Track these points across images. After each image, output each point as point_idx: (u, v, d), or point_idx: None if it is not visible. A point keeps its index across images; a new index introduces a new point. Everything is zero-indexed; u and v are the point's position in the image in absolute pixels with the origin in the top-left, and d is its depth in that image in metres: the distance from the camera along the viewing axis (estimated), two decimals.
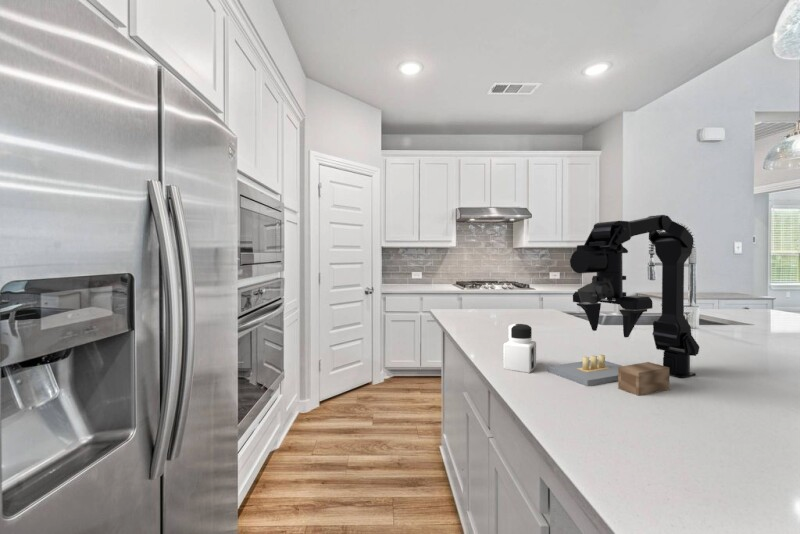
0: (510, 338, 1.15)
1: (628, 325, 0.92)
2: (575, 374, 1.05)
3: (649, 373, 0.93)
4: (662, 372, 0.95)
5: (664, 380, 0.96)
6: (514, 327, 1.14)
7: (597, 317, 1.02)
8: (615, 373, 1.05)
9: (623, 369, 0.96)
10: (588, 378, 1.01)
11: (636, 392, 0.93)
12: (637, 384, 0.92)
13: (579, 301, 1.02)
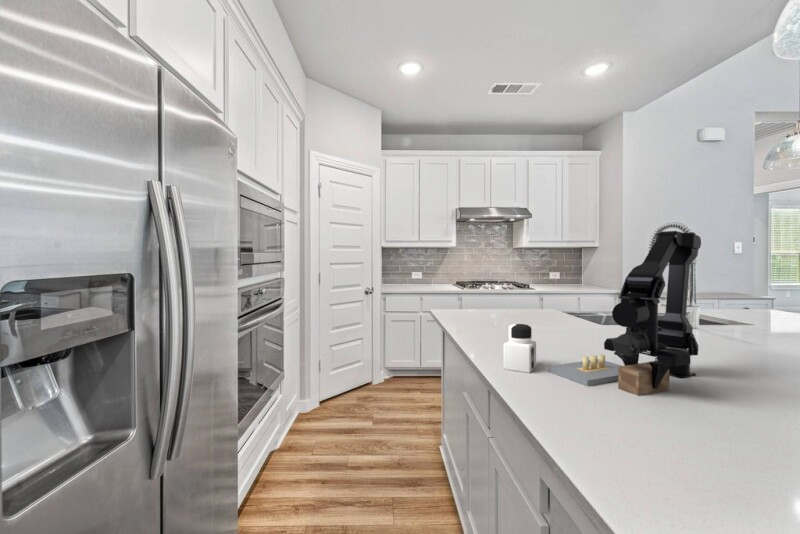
0: (510, 338, 1.15)
1: (657, 377, 0.93)
2: (575, 374, 1.05)
3: (649, 373, 0.93)
4: None
5: (664, 380, 0.95)
6: (514, 327, 1.14)
7: None
8: (615, 373, 1.05)
9: (623, 369, 0.96)
10: (588, 378, 1.01)
11: (636, 392, 0.93)
12: (637, 384, 0.92)
13: (612, 349, 1.01)
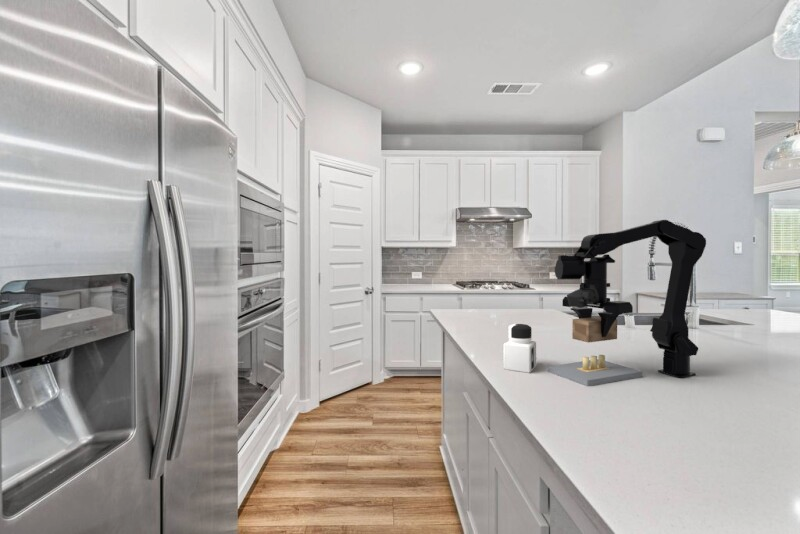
0: (510, 338, 1.15)
1: (605, 326, 1.05)
2: (575, 374, 1.05)
3: (598, 323, 1.05)
4: None
5: (612, 330, 1.07)
6: (514, 327, 1.14)
7: None
8: (615, 373, 1.05)
9: (576, 321, 1.08)
10: (588, 378, 1.01)
11: (586, 339, 1.05)
12: (587, 332, 1.04)
13: (568, 305, 1.13)
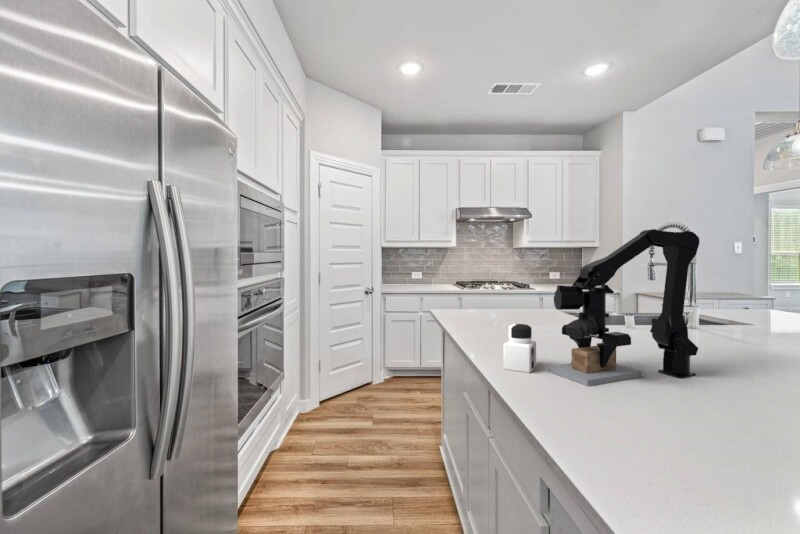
0: (510, 338, 1.15)
1: (604, 357, 1.05)
2: (575, 374, 1.05)
3: (597, 354, 1.06)
4: None
5: (611, 360, 1.08)
6: (514, 327, 1.14)
7: None
8: (615, 373, 1.05)
9: (575, 351, 1.08)
10: (588, 378, 1.01)
11: (585, 370, 1.05)
12: (586, 363, 1.05)
13: (568, 334, 1.14)
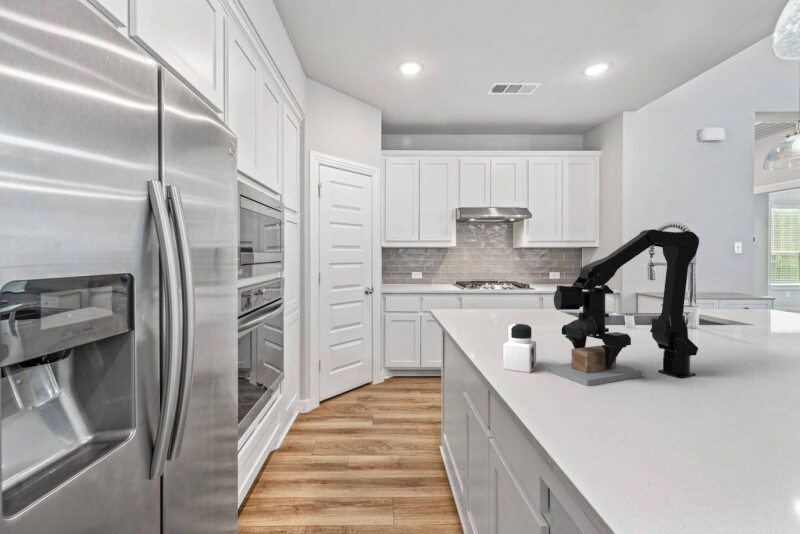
0: (510, 338, 1.15)
1: (609, 359, 1.04)
2: (575, 374, 1.05)
3: (597, 354, 1.06)
4: None
5: None
6: (514, 327, 1.14)
7: None
8: (615, 373, 1.05)
9: (575, 351, 1.08)
10: (588, 378, 1.01)
11: (585, 371, 1.05)
12: (586, 363, 1.05)
13: (567, 334, 1.14)
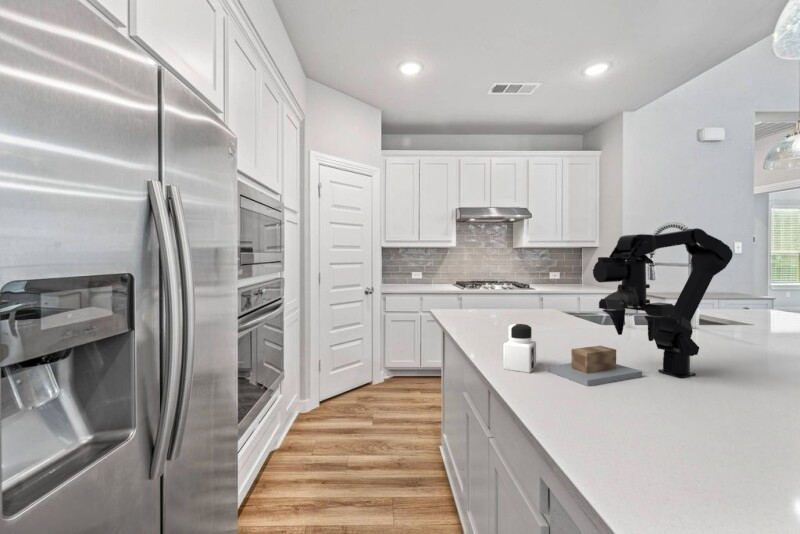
0: (510, 338, 1.15)
1: (652, 330, 1.01)
2: (575, 374, 1.05)
3: (597, 354, 1.06)
4: (609, 353, 1.08)
5: (611, 361, 1.08)
6: (514, 327, 1.14)
7: (622, 322, 1.11)
8: (615, 373, 1.05)
9: (575, 351, 1.08)
10: (588, 378, 1.01)
11: (585, 371, 1.05)
12: (586, 363, 1.05)
13: (606, 307, 1.11)
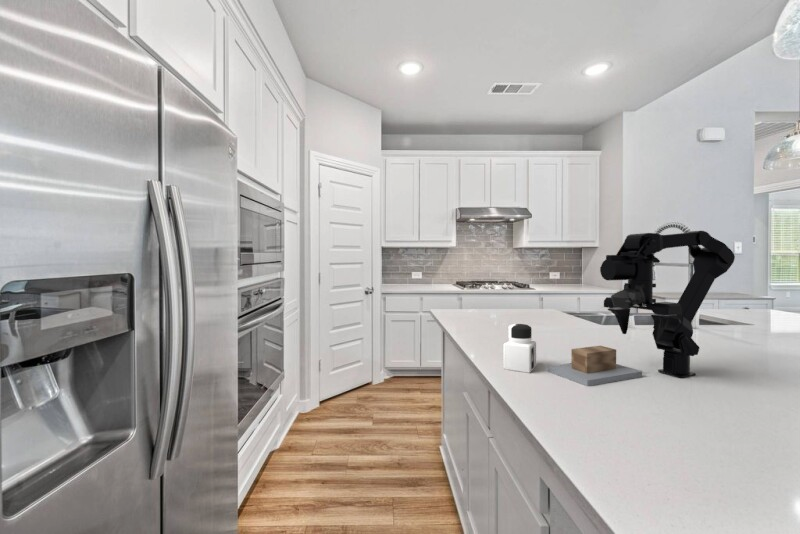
0: (510, 338, 1.15)
1: (658, 329, 1.00)
2: (575, 374, 1.05)
3: (597, 354, 1.06)
4: (609, 353, 1.08)
5: (611, 361, 1.08)
6: (514, 327, 1.14)
7: (627, 321, 1.11)
8: (615, 373, 1.05)
9: (575, 351, 1.08)
10: (588, 378, 1.01)
11: (585, 371, 1.05)
12: (586, 363, 1.05)
13: (611, 306, 1.11)
